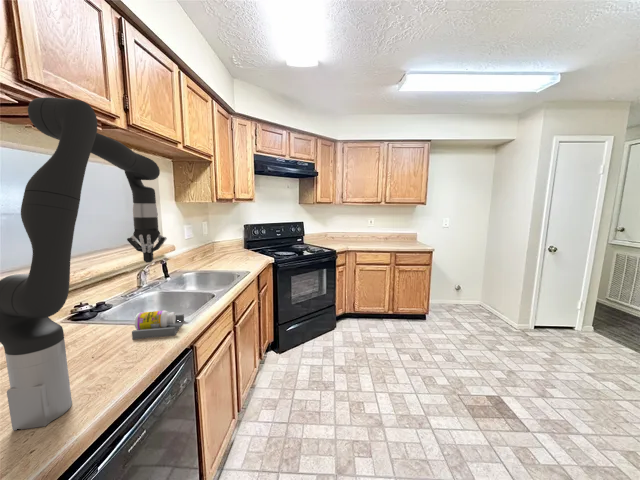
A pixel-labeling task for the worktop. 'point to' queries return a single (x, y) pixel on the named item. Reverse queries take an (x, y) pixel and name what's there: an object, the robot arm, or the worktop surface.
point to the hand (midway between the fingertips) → (148, 262)
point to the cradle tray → (159, 330)
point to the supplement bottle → (154, 320)
